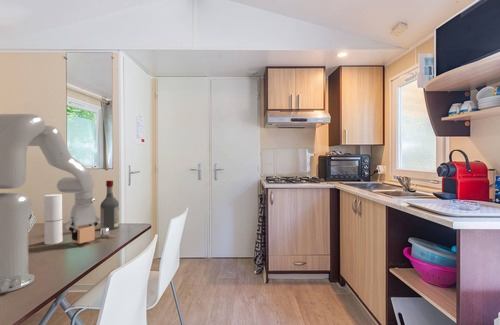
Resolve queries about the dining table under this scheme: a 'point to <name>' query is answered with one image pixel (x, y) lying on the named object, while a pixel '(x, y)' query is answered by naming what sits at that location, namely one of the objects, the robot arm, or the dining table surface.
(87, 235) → the orange block
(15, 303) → the dining table surface
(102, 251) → the dining table surface
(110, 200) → the liquor
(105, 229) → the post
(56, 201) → the cylindrical container
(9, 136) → the robot arm
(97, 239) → the board
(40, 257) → the dining table surface
